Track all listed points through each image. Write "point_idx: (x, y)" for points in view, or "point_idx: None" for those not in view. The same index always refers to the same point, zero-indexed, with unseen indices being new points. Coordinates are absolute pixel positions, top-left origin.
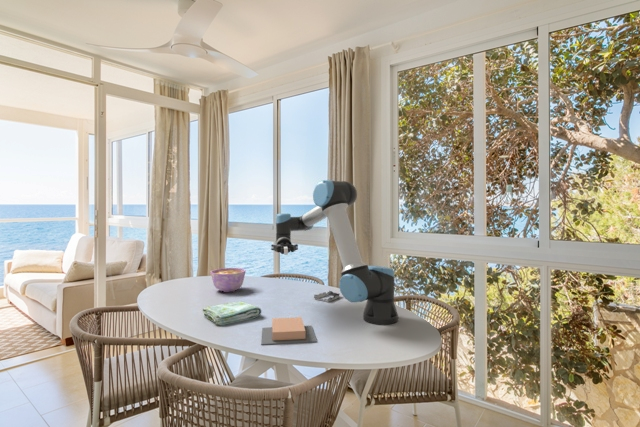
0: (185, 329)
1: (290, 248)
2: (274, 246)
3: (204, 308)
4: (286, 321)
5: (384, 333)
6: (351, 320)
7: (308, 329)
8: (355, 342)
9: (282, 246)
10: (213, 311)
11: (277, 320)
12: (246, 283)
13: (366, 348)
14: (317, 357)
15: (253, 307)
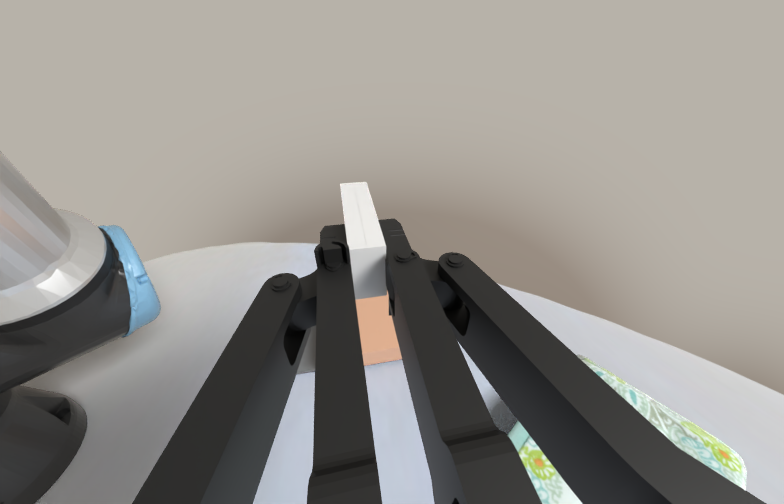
0: (621, 337)
1: (310, 279)
2: (584, 377)
3: (726, 445)
4: (364, 325)
5: (123, 337)
6: (131, 444)
7: (308, 343)
8: (225, 294)
9: (405, 256)
10: (630, 386)
11: (389, 331)
12: None
13: (220, 275)
14: (312, 251)
15: (515, 439)
